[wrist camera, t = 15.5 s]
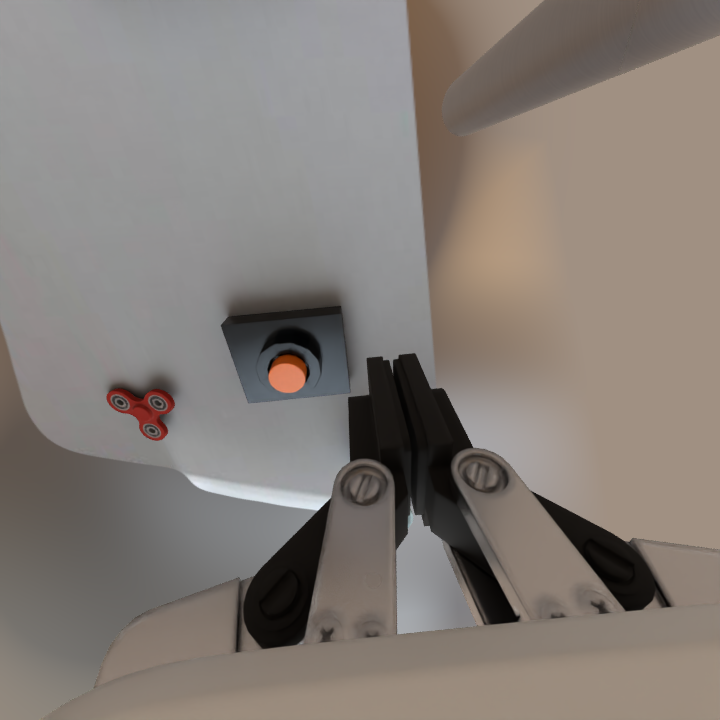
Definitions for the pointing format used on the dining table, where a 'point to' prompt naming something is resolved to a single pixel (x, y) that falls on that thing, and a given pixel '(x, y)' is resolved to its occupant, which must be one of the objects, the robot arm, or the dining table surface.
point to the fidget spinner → (144, 410)
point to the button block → (289, 351)
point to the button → (287, 373)
